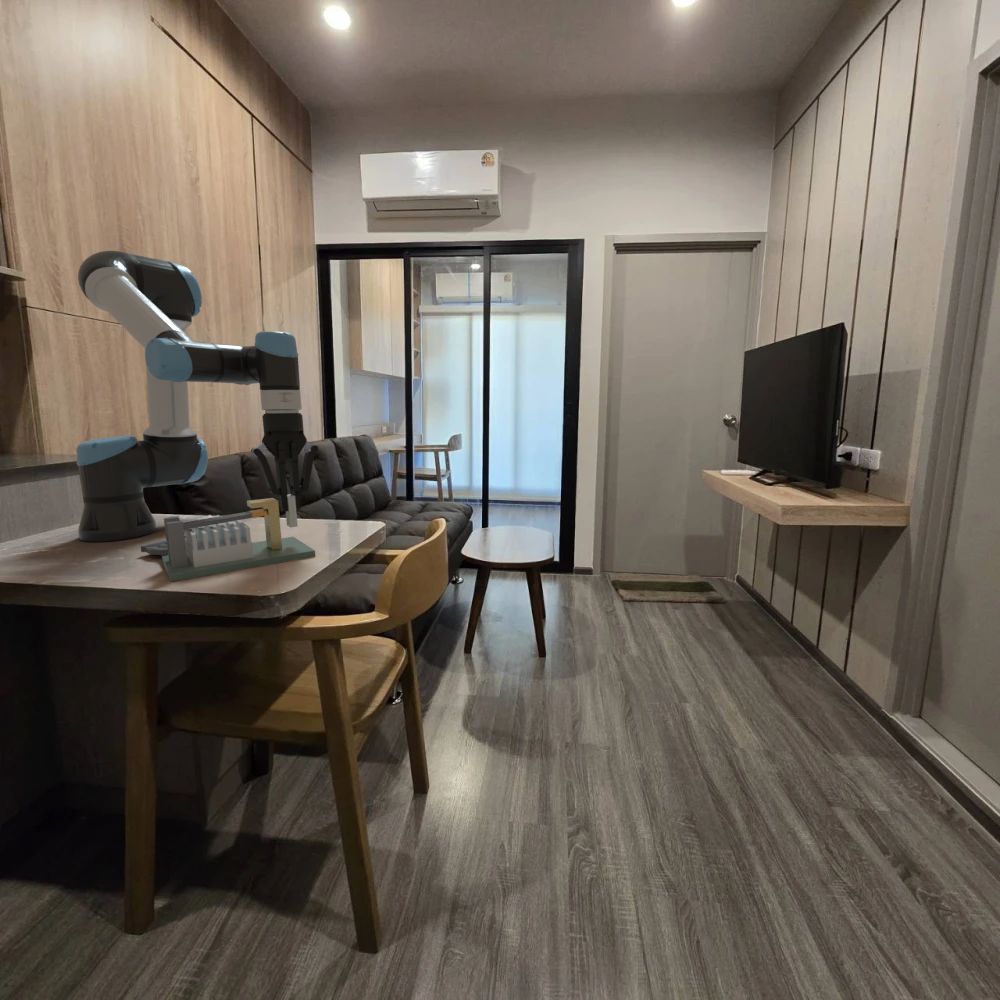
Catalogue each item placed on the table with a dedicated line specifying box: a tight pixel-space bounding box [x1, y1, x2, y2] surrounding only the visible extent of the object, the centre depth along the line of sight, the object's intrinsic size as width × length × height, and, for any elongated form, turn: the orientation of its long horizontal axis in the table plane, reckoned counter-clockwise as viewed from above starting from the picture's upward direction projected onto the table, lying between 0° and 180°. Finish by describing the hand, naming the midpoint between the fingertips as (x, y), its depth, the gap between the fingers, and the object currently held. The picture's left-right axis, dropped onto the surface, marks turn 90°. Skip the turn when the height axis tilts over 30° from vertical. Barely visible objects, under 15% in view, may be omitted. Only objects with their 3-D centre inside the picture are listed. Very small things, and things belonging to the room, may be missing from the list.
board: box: [161, 515, 316, 582], centre depth 103 cm, size 15×25×10 cm, turn 127°
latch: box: [246, 497, 282, 550], centre depth 105 cm, size 4×5×10 cm
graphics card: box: [140, 526, 217, 557], centre depth 112 cm, size 17×4×12 cm
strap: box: [183, 508, 268, 531], centre depth 100 cm, size 3×17×1 cm, turn 127°
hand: (292, 525), depth 109 cm, fingers closed
